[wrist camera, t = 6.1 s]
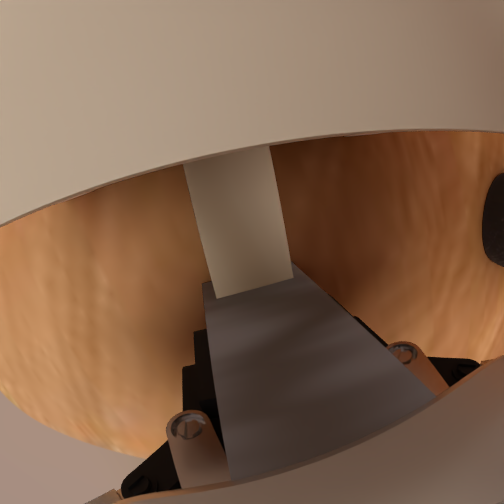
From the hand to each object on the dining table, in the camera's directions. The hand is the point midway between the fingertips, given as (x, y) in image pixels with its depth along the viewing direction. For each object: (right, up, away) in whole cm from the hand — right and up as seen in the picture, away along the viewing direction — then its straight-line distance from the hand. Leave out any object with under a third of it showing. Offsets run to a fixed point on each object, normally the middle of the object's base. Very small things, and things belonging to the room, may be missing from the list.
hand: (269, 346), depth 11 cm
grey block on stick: (-2, +8, 0) cm, 8 cm away
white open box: (-3, +13, -2) cm, 14 cm away
